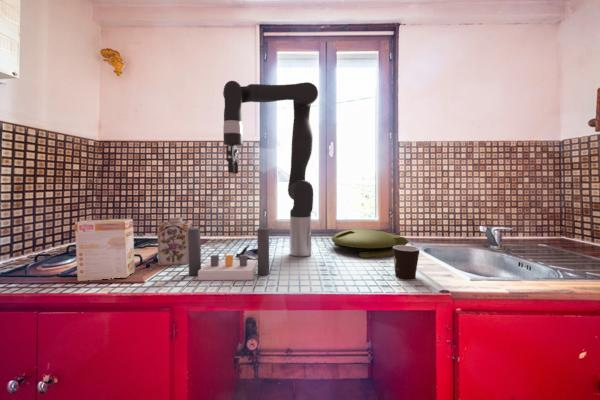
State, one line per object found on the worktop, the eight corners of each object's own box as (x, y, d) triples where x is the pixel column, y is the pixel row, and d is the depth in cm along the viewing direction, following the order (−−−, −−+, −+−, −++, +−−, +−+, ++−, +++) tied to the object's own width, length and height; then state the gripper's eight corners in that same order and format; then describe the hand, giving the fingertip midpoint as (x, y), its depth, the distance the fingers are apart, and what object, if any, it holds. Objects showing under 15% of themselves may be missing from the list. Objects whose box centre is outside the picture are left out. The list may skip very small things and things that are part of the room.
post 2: (269, 271, 102) (269, 228, 101) (268, 275, 98) (268, 230, 97) (258, 272, 102) (258, 228, 101) (257, 275, 98) (256, 230, 97)
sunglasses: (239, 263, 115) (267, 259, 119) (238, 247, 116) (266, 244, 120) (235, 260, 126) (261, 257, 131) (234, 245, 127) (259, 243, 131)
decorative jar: (157, 266, 109) (156, 219, 108) (165, 258, 121) (164, 216, 119) (190, 264, 112) (189, 219, 111) (194, 256, 123) (193, 215, 122)
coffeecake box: (135, 272, 101) (133, 218, 100) (126, 279, 94) (124, 221, 93) (89, 274, 99) (86, 219, 98) (76, 281, 92) (73, 222, 91)
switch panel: (257, 268, 106) (256, 251, 106) (252, 279, 94) (252, 260, 94) (208, 268, 106) (208, 251, 105) (198, 280, 94) (197, 260, 93)
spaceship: (380, 241, 158) (380, 224, 157) (419, 254, 129) (419, 233, 128) (321, 245, 147) (322, 227, 146) (350, 261, 118) (350, 238, 117)
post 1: (202, 272, 102) (201, 228, 101) (199, 276, 98) (198, 230, 97) (191, 272, 102) (190, 228, 100) (187, 276, 98) (186, 230, 97)
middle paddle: (233, 264, 101) (233, 254, 100) (232, 266, 99) (232, 255, 99) (226, 264, 100) (226, 254, 100) (225, 266, 99) (225, 255, 99)
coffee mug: (416, 282, 92) (417, 252, 91) (389, 277, 96) (389, 248, 96) (422, 273, 101) (422, 245, 101) (397, 269, 106) (398, 242, 105)
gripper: (238, 130, 109) (239, 172, 110) (245, 136, 123) (245, 173, 124) (219, 130, 108) (219, 172, 109) (227, 136, 123) (228, 173, 124)
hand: (233, 173), depth 117 cm, fingers open, 8 cm apart
